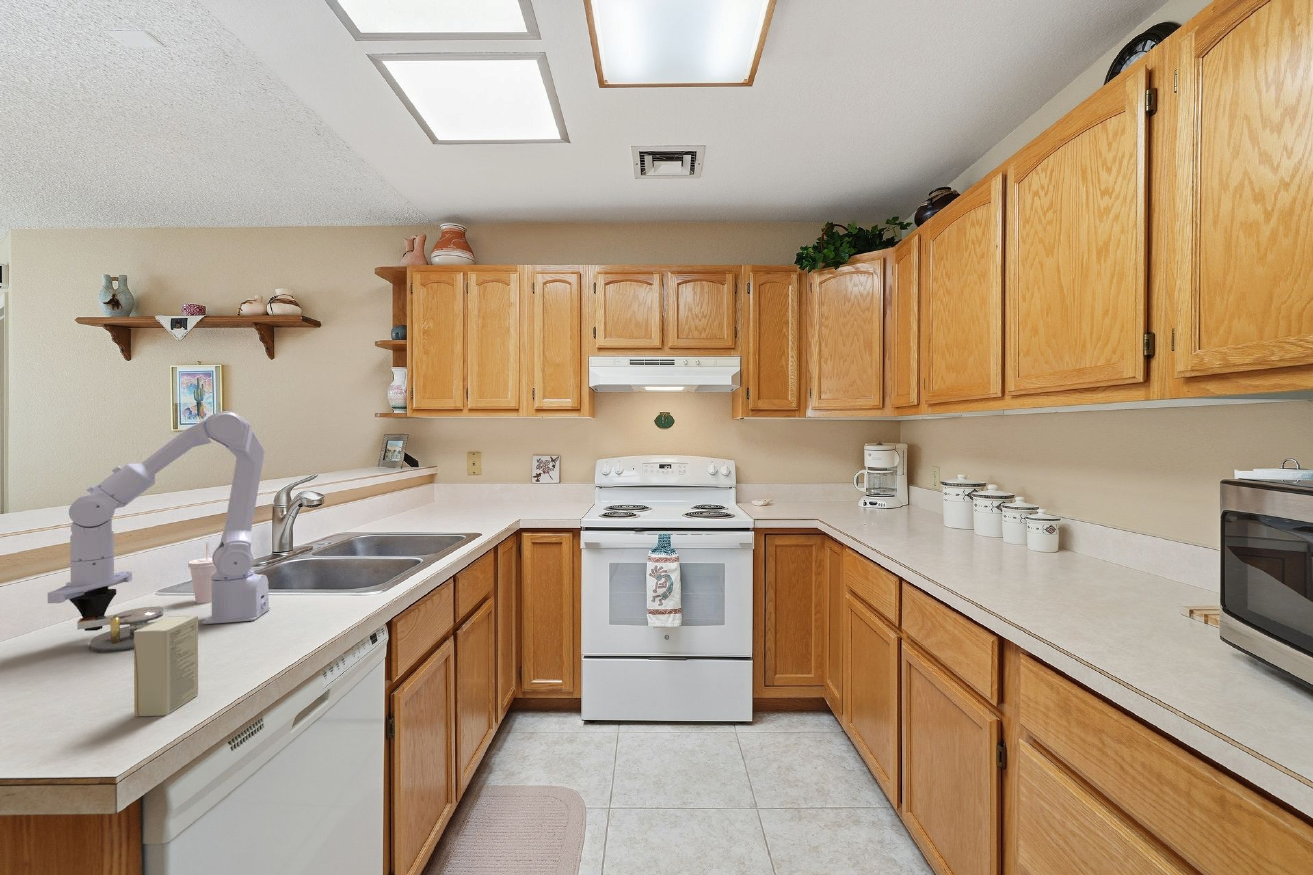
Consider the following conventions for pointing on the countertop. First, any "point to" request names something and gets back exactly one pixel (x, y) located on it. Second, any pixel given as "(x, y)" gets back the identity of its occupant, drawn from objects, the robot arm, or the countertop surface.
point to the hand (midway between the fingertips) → (93, 629)
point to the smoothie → (202, 577)
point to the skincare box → (165, 665)
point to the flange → (123, 617)
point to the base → (116, 637)
